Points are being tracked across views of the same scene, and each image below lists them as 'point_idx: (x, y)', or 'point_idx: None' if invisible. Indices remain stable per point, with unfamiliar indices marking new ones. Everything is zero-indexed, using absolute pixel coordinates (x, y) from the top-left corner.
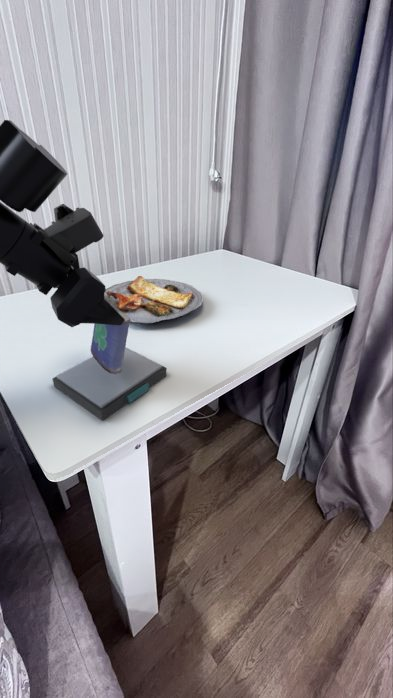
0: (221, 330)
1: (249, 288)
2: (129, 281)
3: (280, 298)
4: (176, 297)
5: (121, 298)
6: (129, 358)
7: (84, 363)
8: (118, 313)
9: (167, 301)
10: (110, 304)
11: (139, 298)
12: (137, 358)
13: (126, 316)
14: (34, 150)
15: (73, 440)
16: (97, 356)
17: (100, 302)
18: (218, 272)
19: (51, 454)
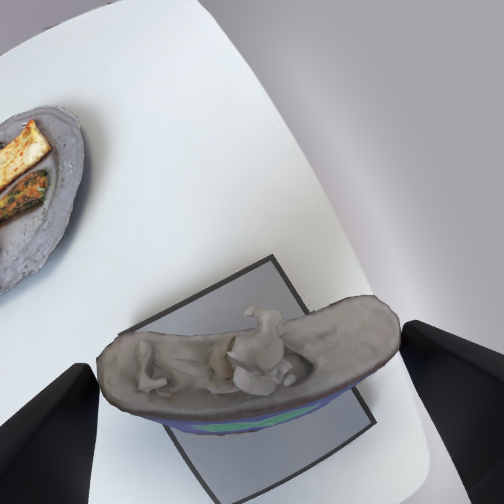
0: (155, 113)
1: (71, 55)
2: None
3: (126, 32)
4: (14, 152)
5: None
6: (209, 329)
7: (190, 444)
8: (461, 339)
9: (14, 170)
10: (494, 368)
11: None
12: (217, 309)
13: (348, 305)
14: None
15: (391, 464)
16: (265, 427)
17: None
18: (4, 84)
19: (404, 490)
